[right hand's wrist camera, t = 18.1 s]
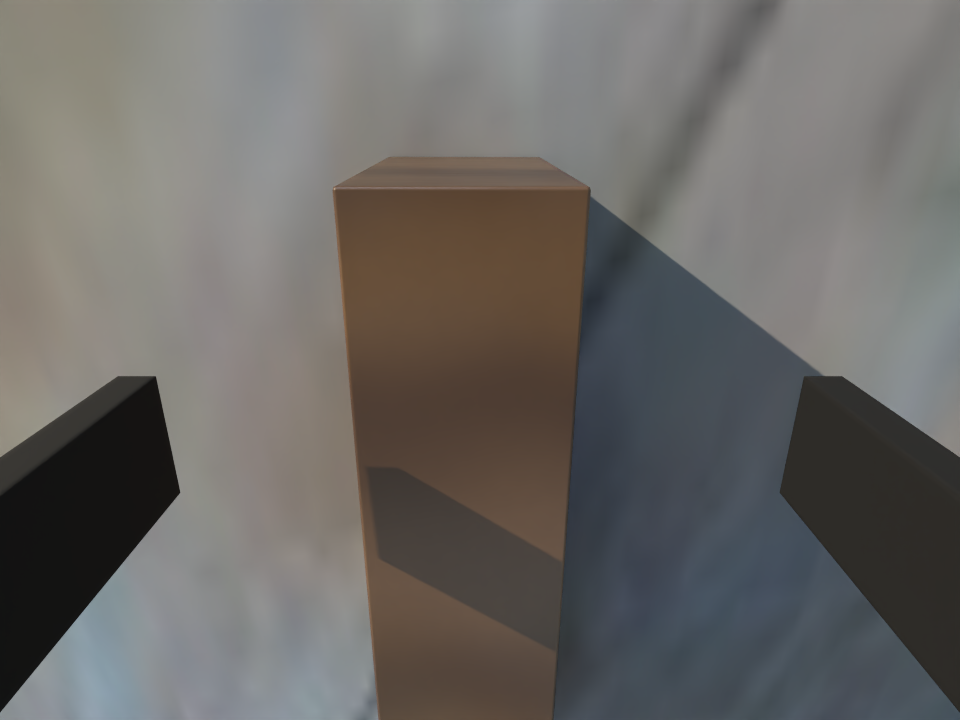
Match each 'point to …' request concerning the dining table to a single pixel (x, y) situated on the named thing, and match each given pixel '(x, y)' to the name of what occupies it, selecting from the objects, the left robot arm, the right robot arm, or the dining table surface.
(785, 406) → the dining table surface
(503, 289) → the bar
